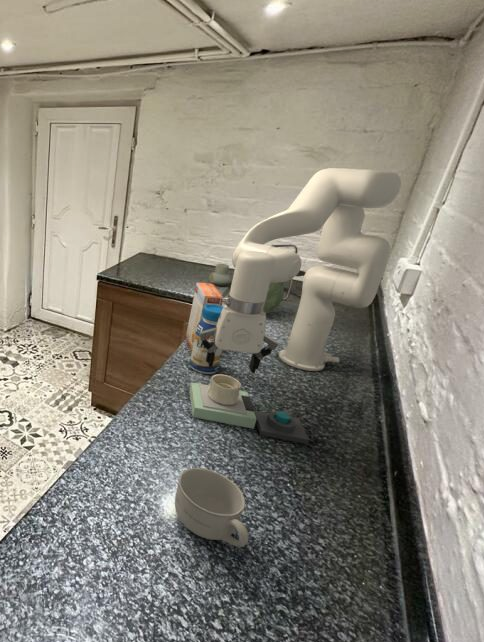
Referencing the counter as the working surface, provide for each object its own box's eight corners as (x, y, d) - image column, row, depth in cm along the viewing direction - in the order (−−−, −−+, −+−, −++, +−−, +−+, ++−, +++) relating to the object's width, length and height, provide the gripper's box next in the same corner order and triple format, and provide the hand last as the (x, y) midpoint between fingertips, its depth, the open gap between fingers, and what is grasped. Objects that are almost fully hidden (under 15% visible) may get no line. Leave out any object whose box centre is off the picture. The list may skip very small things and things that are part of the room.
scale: (244, 401, 107) (247, 390, 106) (253, 429, 96) (257, 417, 95) (189, 391, 110) (191, 380, 109) (192, 417, 100) (195, 406, 98)
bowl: (234, 393, 104) (238, 376, 102) (238, 408, 98) (243, 391, 96) (206, 388, 106) (209, 372, 104) (209, 403, 100) (213, 386, 98)
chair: (280, 287, 197) (292, 244, 189) (309, 300, 182) (324, 253, 174) (257, 288, 195) (269, 244, 187) (286, 301, 179) (299, 254, 171)
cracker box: (211, 357, 129) (224, 297, 121) (191, 354, 130) (203, 295, 122) (202, 338, 142) (214, 283, 134) (185, 336, 143) (195, 281, 135)
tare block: (297, 423, 99) (300, 413, 98) (307, 444, 92) (311, 434, 90) (253, 415, 101) (255, 405, 100) (260, 435, 94) (263, 425, 93)
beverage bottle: (216, 363, 125) (230, 305, 117) (219, 377, 118) (233, 316, 110) (188, 358, 127) (199, 301, 120) (188, 371, 120) (201, 311, 113)
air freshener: (207, 280, 205) (210, 261, 201) (223, 281, 204) (227, 262, 200) (213, 287, 195) (217, 267, 191) (230, 288, 194) (235, 268, 190)
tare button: (286, 417, 96) (288, 412, 96) (290, 425, 94) (291, 419, 93) (273, 415, 97) (275, 410, 96) (277, 422, 94) (278, 417, 94)
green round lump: (230, 315, 162) (241, 268, 155) (241, 302, 176) (251, 259, 169) (273, 325, 154) (287, 276, 146) (281, 311, 167) (294, 266, 160)
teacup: (162, 498, 76) (169, 466, 73) (216, 496, 77) (224, 464, 74) (196, 570, 63) (205, 535, 60) (260, 566, 64) (272, 531, 61)
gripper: (207, 306, 91) (194, 369, 98) (291, 315, 87) (272, 381, 93) (204, 294, 98) (192, 355, 105) (282, 302, 93) (265, 365, 100)
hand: (230, 367), depth 99 cm, fingers open, 9 cm apart
